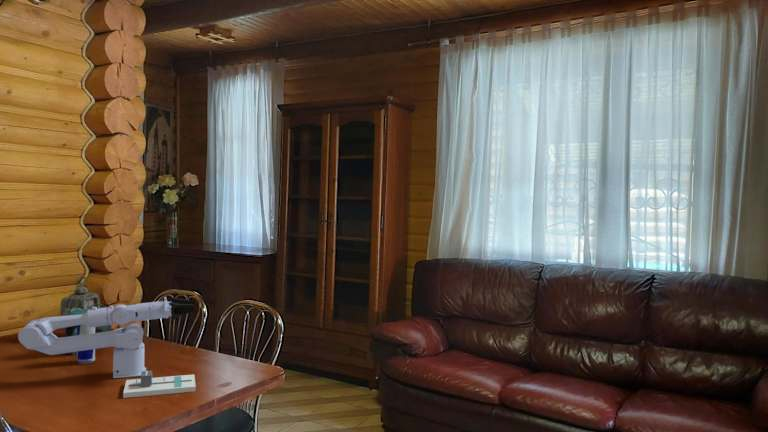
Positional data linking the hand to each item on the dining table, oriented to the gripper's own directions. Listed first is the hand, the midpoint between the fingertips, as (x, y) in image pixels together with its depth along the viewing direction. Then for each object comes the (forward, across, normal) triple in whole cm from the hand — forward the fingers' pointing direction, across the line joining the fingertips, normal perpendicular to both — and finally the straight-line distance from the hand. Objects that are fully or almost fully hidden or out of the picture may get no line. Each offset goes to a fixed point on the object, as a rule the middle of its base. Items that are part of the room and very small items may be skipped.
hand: (194, 305), depth 194 cm
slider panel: (-12, -17, +21) cm, 29 cm away
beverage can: (-37, +18, +19) cm, 45 cm away
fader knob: (-16, -17, +19) cm, 30 cm away
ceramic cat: (-39, +35, +19) cm, 55 cm away
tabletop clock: (-44, +55, +18) cm, 73 cm away
